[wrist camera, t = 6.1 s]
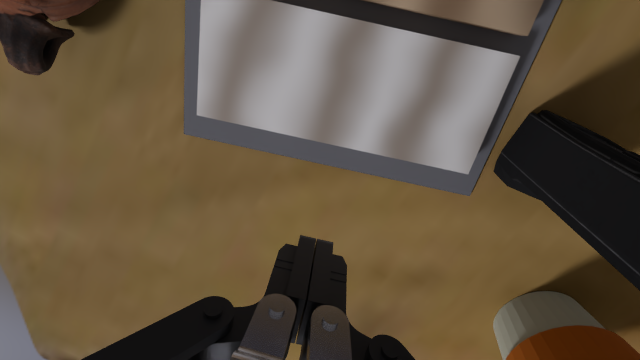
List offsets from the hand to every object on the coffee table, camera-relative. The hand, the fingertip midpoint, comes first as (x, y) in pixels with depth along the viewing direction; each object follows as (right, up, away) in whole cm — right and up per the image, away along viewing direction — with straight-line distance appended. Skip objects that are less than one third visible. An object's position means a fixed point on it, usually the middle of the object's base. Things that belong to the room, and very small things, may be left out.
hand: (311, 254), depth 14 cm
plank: (+2, +11, +11) cm, 15 cm away
